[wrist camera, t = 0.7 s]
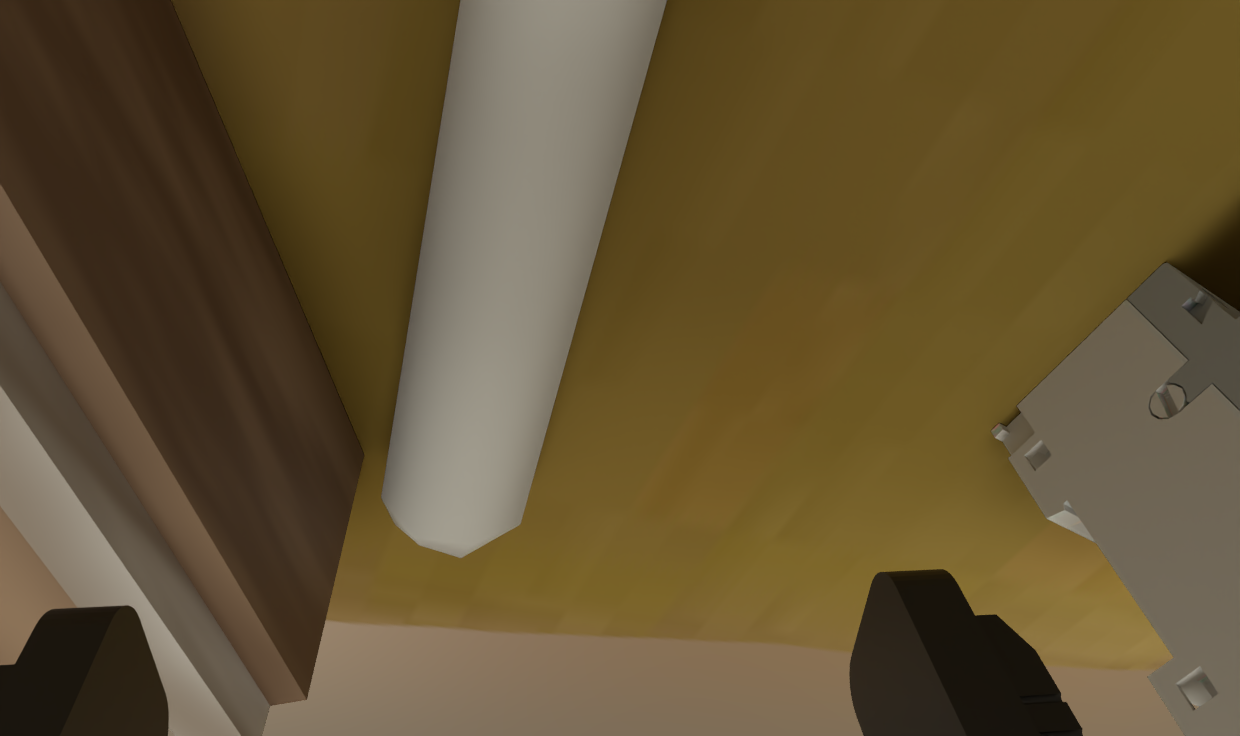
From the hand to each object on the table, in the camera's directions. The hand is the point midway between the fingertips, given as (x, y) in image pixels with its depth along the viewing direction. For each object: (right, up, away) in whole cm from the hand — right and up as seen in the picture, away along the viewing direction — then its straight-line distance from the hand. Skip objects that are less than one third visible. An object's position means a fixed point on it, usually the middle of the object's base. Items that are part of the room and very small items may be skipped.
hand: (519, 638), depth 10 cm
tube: (-2, +9, +17) cm, 20 cm away
